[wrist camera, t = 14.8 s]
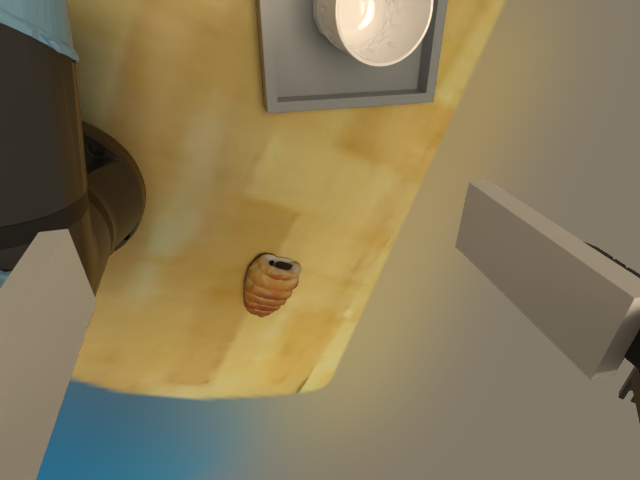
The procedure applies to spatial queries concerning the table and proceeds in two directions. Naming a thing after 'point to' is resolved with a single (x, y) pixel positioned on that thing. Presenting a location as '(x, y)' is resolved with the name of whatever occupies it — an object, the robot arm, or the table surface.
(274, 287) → the pastry
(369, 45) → the white cup
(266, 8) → the tray
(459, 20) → the table surface
